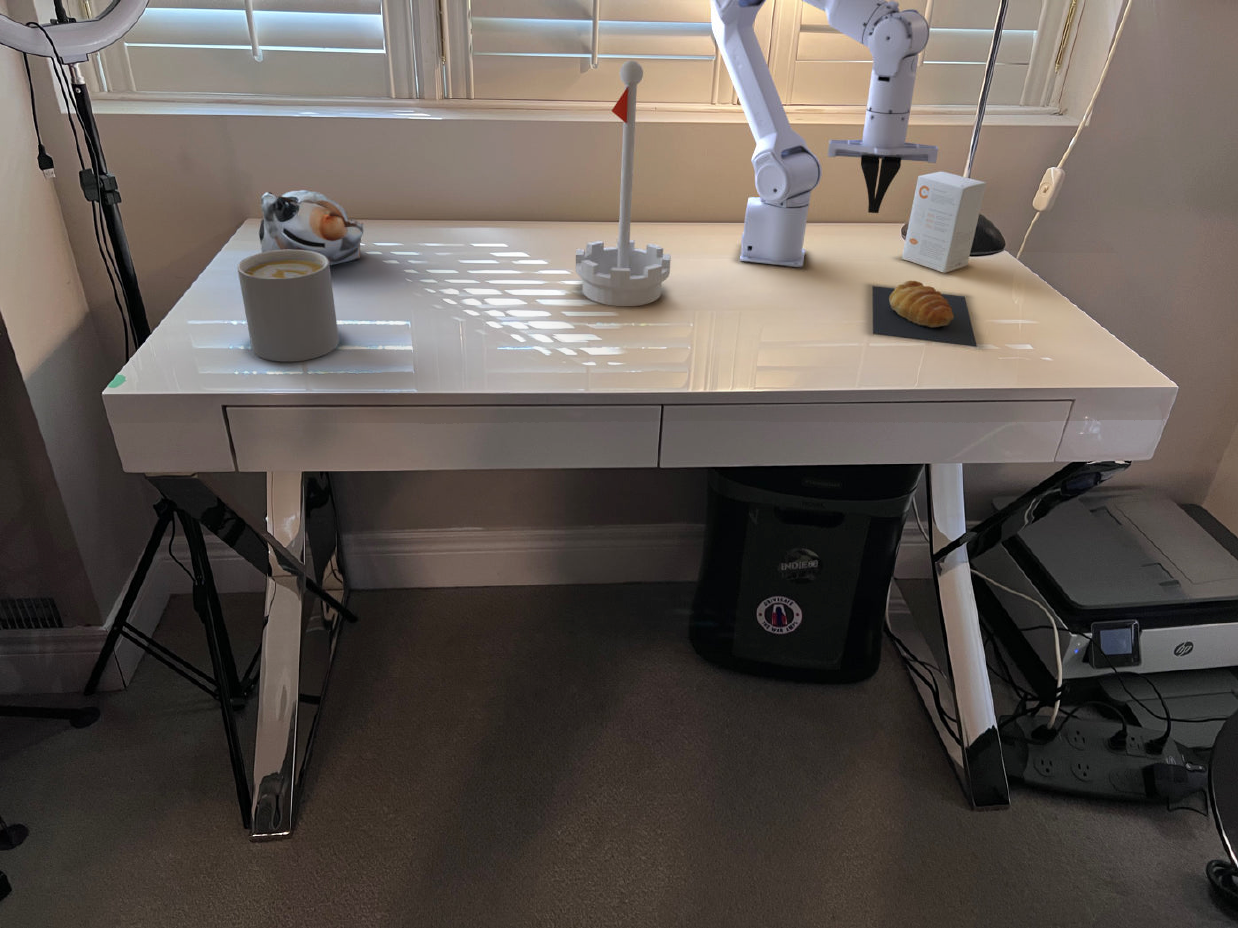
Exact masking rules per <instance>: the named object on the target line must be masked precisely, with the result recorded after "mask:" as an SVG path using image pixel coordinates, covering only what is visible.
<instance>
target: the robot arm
mask: <svg viewBox="0 0 1238 928" xmlns="http://www.w3.org/2000/svg"><path fill="white" fill-rule="evenodd" d="M766 1H767V0H710V10H711V11H710V12H711V13H710V14H711V16H710V17H711V30H712V33H713V36H714V39H715V41H716V43H717V47H718V49H719V51H720V54H721V56H722V60H723V62H724V65H725V67H726V69H727V72H728V74H729V77H730V79H731V82H732V85H733V88H734V90H735V93H736V95H737V98H738V100H739V103H740V105H741V108H742V111H743V113H744V116H745V118H746V120H747V123H748V126H749V128H750V131H751V133H752V136H753V140H754V141H755V144H756V146H755V149H754V152H753V154H752V157H751V164H752V167H753V169H754V186H755V189H756V191H757V193H758V195H759V196H758V197H756V196H755V197H752V196H751V197H748V200H747V204H746V208H745V209H746V210H745V215H744V216H745V217H744V225H743V232H742V234H741V239H740V240H741V241H740V245H741V251H740V257H739V260H740V261H742V262H749V263H757V264H758V263H759V264H766V265H767V264H768V265H776V266H785V267H793V268H802V267H803V265H804V260H805V255H806V249H805V248H804V243H805V242H804V241H805V236H806V229H807V223H808V214H809V208H810V202H811V194H812V192H813V191H814V190H815V189H816V188H817V186H819V184H820V182H821V179H822V173H823V170H822V165H821V161H820V160H819V158H818V157H817V156H816V154H814V153H813V152H812V151H811V149H810V148H809V147H808V144H807V142H806V139H805V138H804V137H803V136H801V135H800V134H799V133H797V132H796V131H795V130H794V129H793V128H792V126H791V124H790V121H789V118H788V115H787V113H786V110H785V108H784V105H783V103H782V101H781V97H780V95H779V92H778V90H777V87H776V84H775V82H774V79H773V77H772V74H771V71H770V69H769V66H768V64H767V61H766V58H765V56H764V53H763V51H762V47H761V46H760V43H759V40H758V38H757V35H756V32H755V30H754V23H755V21H756V18H757V16H758V13H759V11H760V10H761V8H762V7H763V6H764V4H765V3H766ZM801 1H802V2H804V3H806V4H808V5H809V6H813V7H815V8H816V9H819V10H820V11H823V12H824V13H825V14H826V20H827V23H828V25H829V26H830V28H832V29H834V30H836V31H837V32H839V33H841V34H844V36H847V37H849V38H850V39H852V40H854V41H856V42H858V43H859V44H861V45H863V46H865V47H867V48H868V50H869V52H870V54H871V56H872V68H871V74H870V83H869V88H868V89H869V90H868V97H867V103H866V104H867V105H866V110H865V118H864V124H863V125H864V126H863V133H862V139H829V141H828V149H827V157H828V158H836V157H842V158H843V157H846V158H860V167H861V170H862V174H863V177H864V181H865V185H866V190H867V197H868V206H867V211H868V213H871V214H879V213H880V208H881V205H882V202H883V199H884V197H885V195H886V193H887V191H888V190H889V187H890V185H891V183H892V181H894V179H895V177H896V176H897V174H898V173H899V171H900V169H901V167H902V161H912V162H913V161H914V162H927V163H928V164H937V160H938V155H939V154H938V153H939V146H938V145H932V144H931V145H930V144H923V143H921V144H920V143H913V142H906V138H907V133H908V128H909V127H908V126H909V121H910V115H911V108H912V103H913V96H914V89H915V83H916V77H917V69H918V64H919V63H918V62H919V56H920V55H919V54H920V53H921V52H922V51H924V49H925V48H926V46H927V45H928V42H929V39H930V25H929V23H928V20H927V18H925V17H924V15H922V14H921V13H920V12H919V10H917V9H913V8H911V9H904V10H901V11H900V9H899V6H900V3H899V2H898V1H895V0H889V1H887V0H801ZM879 168H880V169H879Z"/></svg>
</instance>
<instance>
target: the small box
mask: <svg viewBox="0 0 1238 928" xmlns="http://www.w3.org/2000/svg"><path fill="white" fill-rule="evenodd" d="M986 188H987V182H986V181H983V180H977V179H974V178H969V177H966V176H963V175H958V174H954V173H950V172H946V171H941V170H940V171H936V172H931V173H927V174H921V175H918V176H917V181H916V187H915V192H914V197H913V201H912V206H911V211H910V217H909V220H908V226H907V231H906V236H905V241H904V245H903V251H902V256H901V260H905V261H908V262H911V263H913V264H917V265H920V266H923V267H926V268H929V269H932V270H934V271H937V272H940V273H943V274H947V273H949V272H952V271H956V270H958V269H961V268H964V267H966V266H968V263H969V259H970V256H971V251H972V247H973V243H974V238H975V234H976V231H977V230H976V228H977V226H978V221H979V217H980V213H981V208H982V204H983V199H984V195H985V192H986Z"/></svg>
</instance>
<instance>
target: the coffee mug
mask: <svg viewBox="0 0 1238 928" xmlns="http://www.w3.org/2000/svg"><path fill="white" fill-rule="evenodd" d="M330 266H331V265H329V261H328V259H327V258H326V257H325V256H324V255H322V254H320V253H316V252H313V251H306V250H290V249H289V250H275V251H268V252H263V253H262V252H259V253H256V254H253V255H250V256H247V257H246V258H245V257H244V258H243V259H242V260H241V261H240V262H239V263H238V264H237V275H238V280H239V284H240V285H239V286H240V290H241V296H242V302H243V307H244V313H245V319H246V324H247V329H248V334H249V340H250V345H251V351H252V352H253V353H254V355H256V356H257V357H259V358H261V359H263V360H267V361H273V362H279V363H281V362H282V363H283V362H284V363H291V362H293V363H294V362H305V361H308V360H314V359H317V358H320V357H322V356H325V355H328V354H329V353H331V352H333V351H334V350H335V349H336V348H337V347H338V345H339V343H340V338H339V330H338V322H337V314H336V306H335V299H334V291H333V290H334V289H333V283H332V275H331V268H330Z"/></svg>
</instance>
